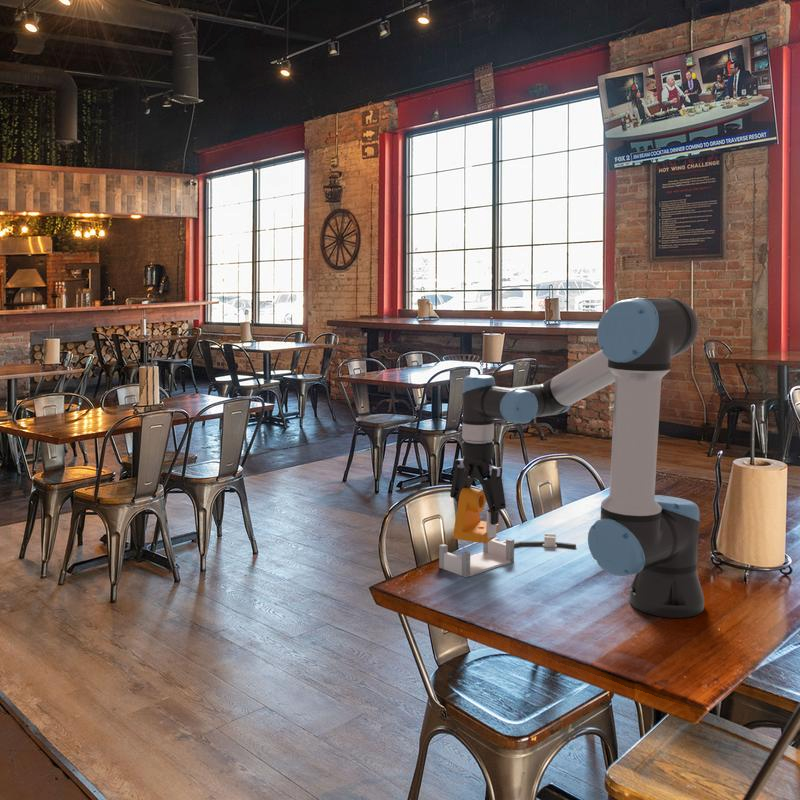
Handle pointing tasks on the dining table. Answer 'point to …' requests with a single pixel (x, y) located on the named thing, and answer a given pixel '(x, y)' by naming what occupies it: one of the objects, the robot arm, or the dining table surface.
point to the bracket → (471, 516)
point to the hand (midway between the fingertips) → (476, 532)
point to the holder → (477, 558)
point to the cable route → (543, 542)
